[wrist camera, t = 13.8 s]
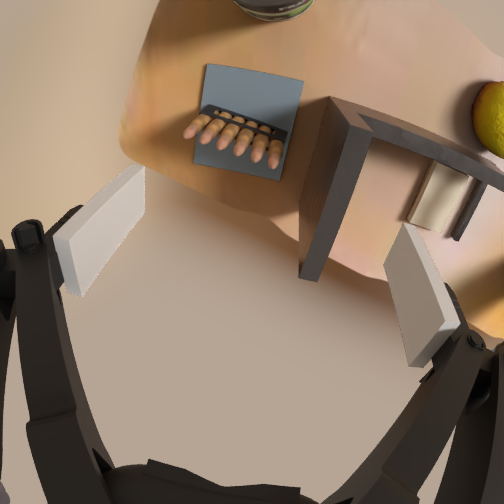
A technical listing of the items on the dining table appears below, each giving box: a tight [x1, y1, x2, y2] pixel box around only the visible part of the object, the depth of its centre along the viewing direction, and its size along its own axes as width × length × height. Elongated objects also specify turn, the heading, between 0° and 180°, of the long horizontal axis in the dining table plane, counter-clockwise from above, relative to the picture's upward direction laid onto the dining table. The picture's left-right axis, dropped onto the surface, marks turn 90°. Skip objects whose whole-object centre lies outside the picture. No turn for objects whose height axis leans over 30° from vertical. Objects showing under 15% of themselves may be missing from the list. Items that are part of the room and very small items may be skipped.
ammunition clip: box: [183, 104, 288, 169], centre depth 33 cm, size 11×2×12 cm, turn 71°
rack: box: [299, 96, 504, 282], centre depth 34 cm, size 26×16×16 cm, turn 79°
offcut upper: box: [407, 160, 469, 233], centre depth 40 cm, size 6×10×1 cm, turn 168°
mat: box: [194, 64, 304, 181], centre depth 39 cm, size 12×14×1 cm
